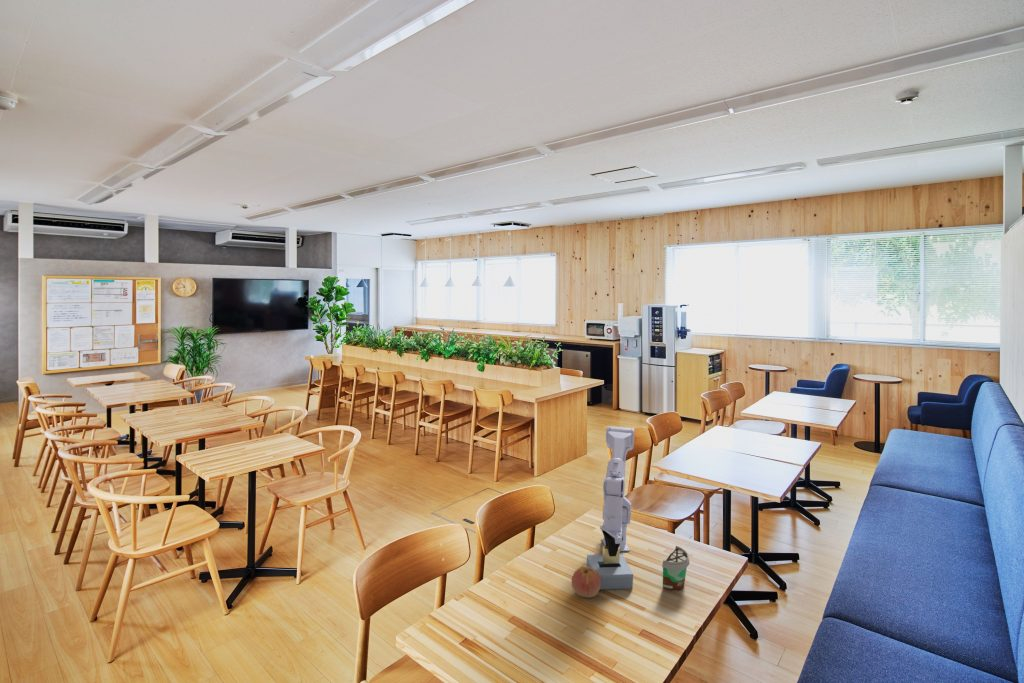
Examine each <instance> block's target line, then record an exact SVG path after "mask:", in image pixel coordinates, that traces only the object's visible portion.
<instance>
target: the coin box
mask: <svg viewBox="0 0 1024 683" xmlns="http://www.w3.org/2000/svg"><path fill="white" fill-rule="evenodd" d="M586 567H591V568H593V569H595V570H596V571H597V572H598V573H599V575H600V579H601V586H600V589H599V591H611V590H614V591H617V590H633V585H634V584H633V583H634V573H633V571H632V569H631V568H630V565H629V564H628V562H627V560H626V558H625V556H624V555H623V554H622V553H620V558H619V563H607V564H604V562H603V553H602V554H587V555H586Z"/></svg>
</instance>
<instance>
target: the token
mask: <svg viewBox="0 0 1024 683" xmlns="http://www.w3.org/2000/svg"><path fill="white" fill-rule="evenodd" d="M602 554H603V562H604V564H607V563H619V558H620V554H621V551H620V548H618V551H617V555H616V556H609V552H608V546H605V545H602Z"/></svg>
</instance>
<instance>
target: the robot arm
mask: <svg viewBox="0 0 1024 683" xmlns="http://www.w3.org/2000/svg"><path fill="white" fill-rule="evenodd" d="M635 431H636V430H635V428H634V427H623V426H622V427H621V426H610V425H608V426H607V427H606V430H605V442H606V445H607V448H609V449H611V459H610V460H608V461H607V466H606V467H607V468H606V475H605V477H604V478H603V485H602V492H603V506H602V507H603V508H602V520H603V524H602V525H600V526H599V529H600V531H601V532H602V534H603V537H601V538H600V539H601V541H602V543H603V546H608V552H609V556H616V555H617V551H618V548H620V552H630V548H629V546H628V544H627V526H628V525H630V524H631V518H632V504H631V501H630V500H629V499H628V498H627V497H626V496H625V488H626V486H625V484H626V479H625V476H626V459H627V458H626V457H627V454H628V452H629V451H632V450H634V446H635V445H634V444H635Z"/></svg>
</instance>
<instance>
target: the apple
mask: <svg viewBox="0 0 1024 683" xmlns="http://www.w3.org/2000/svg"><path fill="white" fill-rule="evenodd" d="M571 586H572V590H573V591H574V592H575V594H577V595H578V596H580V597H583V598H588V599H589V598H594V597H596V596H597V595H598V593H599V591H600V590H599V589H600V586H601V579H600V575H599V573H598V572H597V571H596V570H595V569H593V568H591V567H587V566H580V567H579V568H577V569H576V570H575V571H574V572H573V574H572V576H571Z"/></svg>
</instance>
